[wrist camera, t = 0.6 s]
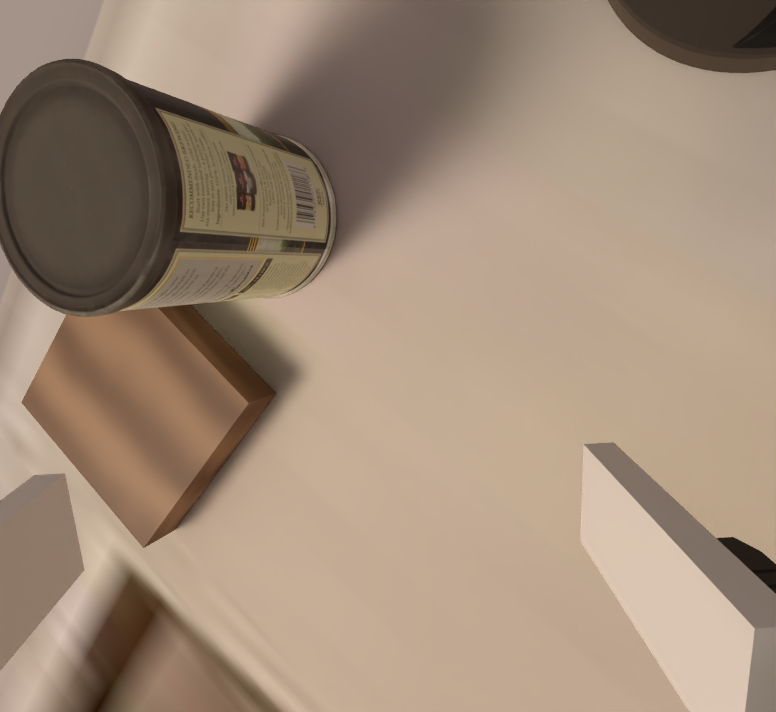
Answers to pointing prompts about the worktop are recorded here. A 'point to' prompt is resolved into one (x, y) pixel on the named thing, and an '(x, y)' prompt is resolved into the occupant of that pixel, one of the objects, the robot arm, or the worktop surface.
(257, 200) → the coffee can
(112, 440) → the walnut board
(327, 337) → the worktop surface
